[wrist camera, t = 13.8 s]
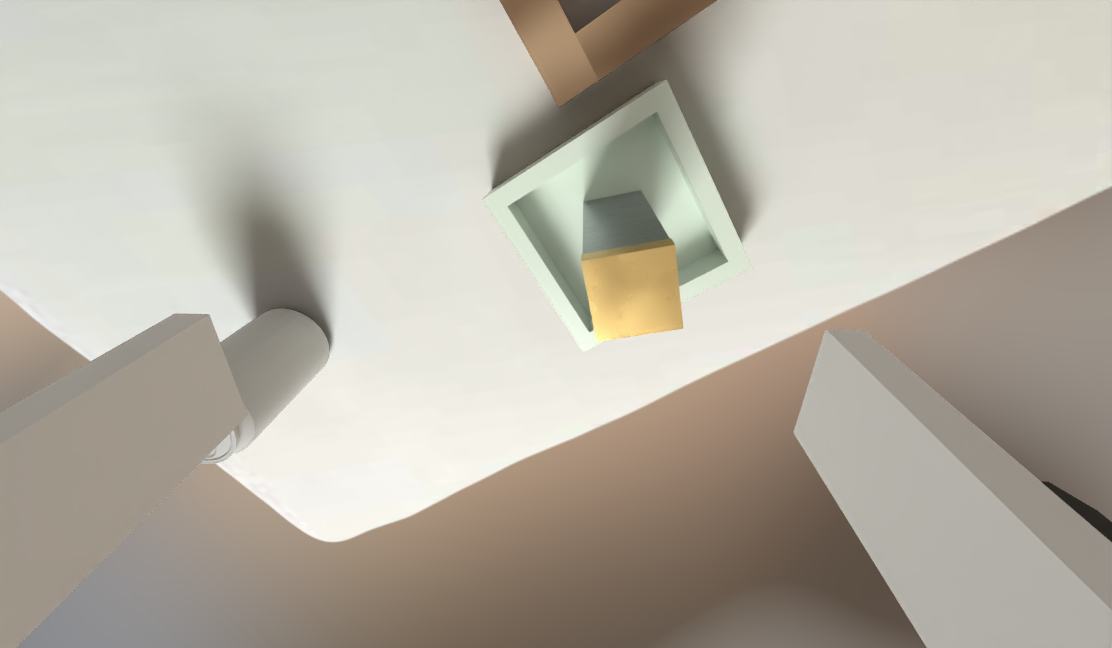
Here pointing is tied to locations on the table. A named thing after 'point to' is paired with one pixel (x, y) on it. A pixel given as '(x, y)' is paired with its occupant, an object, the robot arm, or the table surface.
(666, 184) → the bin
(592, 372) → the table surface
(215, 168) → the table surface
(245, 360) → the beverage can
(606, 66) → the socket block
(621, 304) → the strut
